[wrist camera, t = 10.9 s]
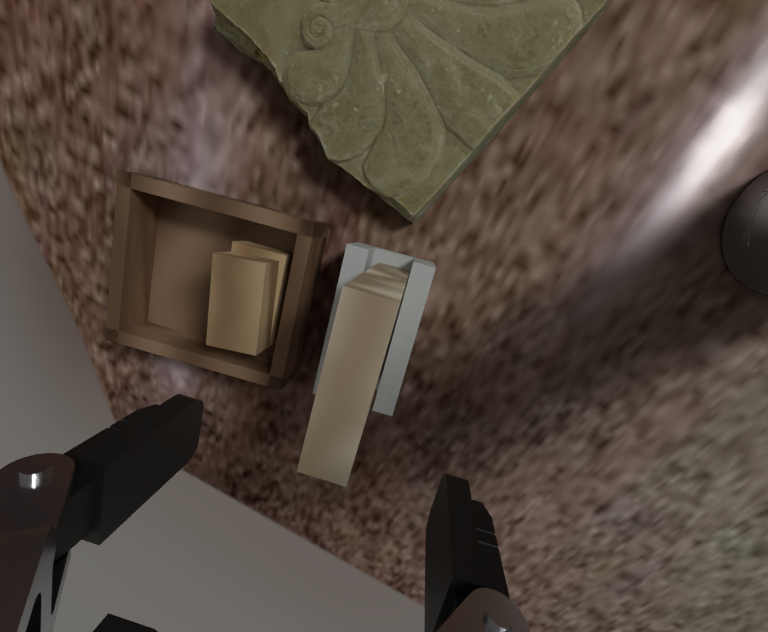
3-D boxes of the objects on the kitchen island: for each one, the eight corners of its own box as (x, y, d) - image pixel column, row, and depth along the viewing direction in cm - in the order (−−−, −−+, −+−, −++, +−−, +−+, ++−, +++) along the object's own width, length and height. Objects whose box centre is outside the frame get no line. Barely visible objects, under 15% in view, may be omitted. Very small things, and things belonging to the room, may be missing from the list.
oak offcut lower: (297, 254, 28) (286, 255, 26) (280, 338, 30) (268, 347, 27) (247, 240, 28) (232, 241, 26) (233, 325, 30) (218, 332, 27)
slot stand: (433, 262, 28) (435, 267, 24) (396, 390, 31) (392, 416, 26) (358, 242, 28) (346, 243, 24) (327, 370, 31) (312, 393, 26)
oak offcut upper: (279, 260, 26) (265, 263, 24) (269, 345, 27) (255, 355, 25) (230, 251, 26) (212, 252, 24) (223, 335, 27) (206, 344, 25)
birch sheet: (410, 271, 27) (399, 302, 15) (378, 378, 29) (346, 486, 17) (379, 262, 27) (342, 286, 15) (350, 370, 30) (296, 471, 17)
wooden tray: (329, 224, 28) (314, 222, 24) (297, 370, 31) (280, 390, 27) (159, 178, 29) (118, 169, 25) (143, 326, 32) (105, 339, 28)
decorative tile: (373, -221, 23) (365, -304, 19) (602, 14, 24) (633, -23, 20) (208, 48, 27) (176, 20, 23) (410, 233, 28) (409, 233, 25)
